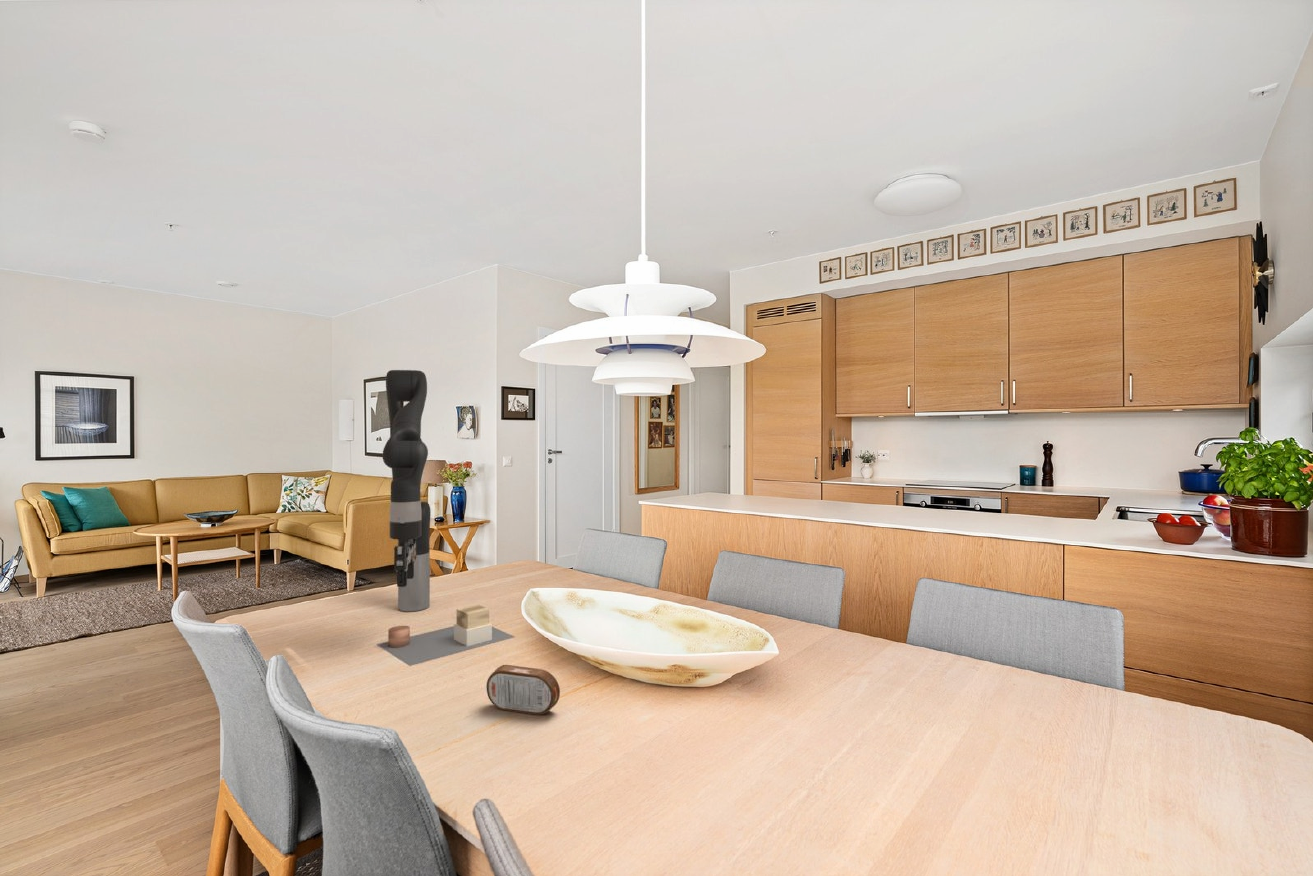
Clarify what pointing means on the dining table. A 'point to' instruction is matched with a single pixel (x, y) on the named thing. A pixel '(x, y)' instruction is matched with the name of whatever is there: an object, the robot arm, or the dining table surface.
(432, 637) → the mat
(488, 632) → the tower base block
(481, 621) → the tower top block
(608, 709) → the dining table surface
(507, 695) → the tin
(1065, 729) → the dining table surface
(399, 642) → the terracotta cylinder
